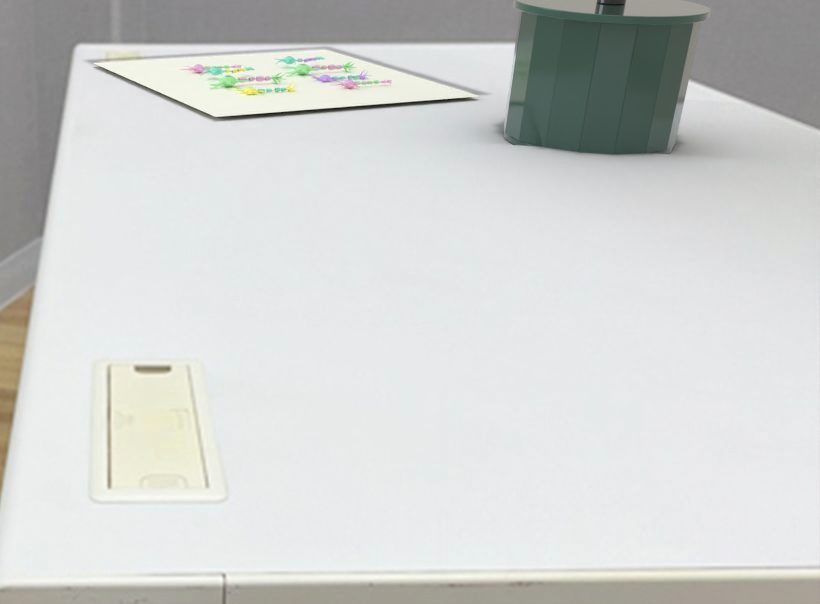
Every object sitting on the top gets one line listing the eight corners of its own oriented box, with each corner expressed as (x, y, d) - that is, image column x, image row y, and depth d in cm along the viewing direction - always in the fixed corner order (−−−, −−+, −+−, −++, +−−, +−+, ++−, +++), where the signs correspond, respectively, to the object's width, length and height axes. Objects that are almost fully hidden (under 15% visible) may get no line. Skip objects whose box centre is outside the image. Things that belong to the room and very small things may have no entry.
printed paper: (215, 120, 110) (215, 103, 109) (92, 66, 132) (92, 51, 131) (479, 99, 122) (481, 84, 121) (326, 53, 144) (327, 39, 143)
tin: (659, 128, 112) (684, 4, 106) (684, 165, 100) (715, 27, 94) (500, 119, 114) (517, -4, 108) (506, 154, 102) (526, 18, 96)
